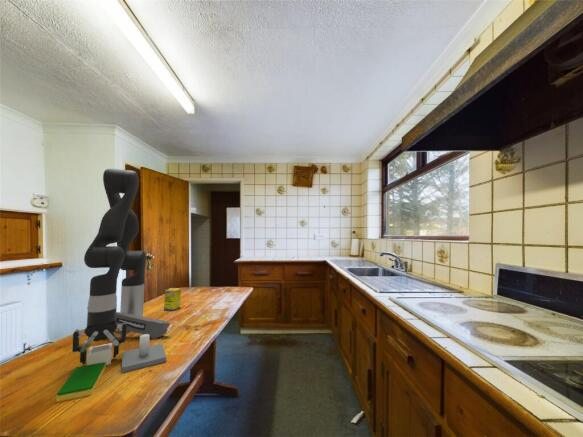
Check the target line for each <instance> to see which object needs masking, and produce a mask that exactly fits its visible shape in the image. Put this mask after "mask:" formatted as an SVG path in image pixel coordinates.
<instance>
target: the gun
mask: <svg viewBox="0 0 583 437" xmlns="http://www.w3.org/2000/svg"><path fill="white" fill-rule="evenodd" d="M123 322H126V323H127V328H126V335H127V334H129V333H130V332H132V333H136V334H141V335H144V334H149V335H150V336H149V338H151V339H158V338H161V337H162V336H164V335H166V334H167V332H168V328H169V327H170V325H171V323H170V322H169V321H168V320H164V319H160V318H150V317H145V316H143V317H141V316H136V315H131V314H127V313H120V311H116V323H117V324H122V323H123ZM113 333H114V334H115V335H119V336H121V337H122V331H120V330H119V328H117V330H115V331H114V332H113Z"/></svg>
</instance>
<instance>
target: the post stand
mask: <svg viewBox="0 0 583 437" xmlns="http://www.w3.org/2000/svg"><path fill="white" fill-rule="evenodd" d="M149 336H150V335H149V334H144V335H143V334H141V335H140V336H139V345H138V346H139V347H138V348H135V349H130V350H129V349H128V350H124V351H122V355H121V373H122V374H123V373H126V372H127V373H128V372H131V371H135V370H137V369H138V370H139V369H143V368H147V367H151V366H155V365H158V364H162V363H166V362H167V355H166V352H165V347H164V344H163V343H158V344H154V345H150V337H149Z"/></svg>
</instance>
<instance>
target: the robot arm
mask: <svg viewBox="0 0 583 437" xmlns="http://www.w3.org/2000/svg"><path fill="white" fill-rule="evenodd" d="M102 174H103V175H102V181H103V188H104V191H105V194H106V196H107V197H106V198H107V201H108V204H109V209H108V210H107V211H106V212H105V213H104V215H103V216H102V218H101V220H100V224H99V228H98V232H97V234H96V235H95V237H94V239H93V241H92V242H91V244H90V245H89V247H88V248H87V249H86V251H85V253H84V257H83V261H84V264H85V266H86V267H88V268H90V269H104V268H106V269H107V268H109V269H108V270H107V272H106V273H104V274H98V275H94V276H92V277H91V279H90V282H89V298H88V301H87V302H88V303H87V306H86V307H87V316H86V319H87V320H86V327H85V328H83V329H75V330H74V332H73V334H72V349H71V350H72V352H73V353H76V352H78V353H80V354H79V363H80V364H82V365H85V364H86V365H87V354H88V347H89V346H90V345H91V344H92V342H95V343H96V342H100V341H106V340H107V339H109V341H110V342H111V343H112V345H113V353H112V356H113V357H112V358H116V357H117V356H118V355H119V353H120V345H121V344H123V343H125V342H126V340H127V334H126V328H127V323H126V322H123V323H122V324H117V323H116V313H117V306H118V296H117V289H118V288H117V287H118V286H117V284H118V277H119V274H120V270H121V271H136V272H135V273H134V274H133V275H131V276H128V277H125V278H123V279H122V280H121V288H120V308H119V310H120V311H119V312H120V313H127V314H131V315H136V316H141V317H144V300H145V277H146V276H145V275H146V266H147V253H146V252H145V251H144V250H129V249H128V247H129V246H130V244H131V243H132V242H133V240H135V238H136V237H137V235H138V233H139V232H140V225H139V219H138V218H139V217H138V215H137V213H135V211H134V210H133V209H131V208H132V206H133V203H134V201H135V198H136V195H137V193H138V190H139V186H140V178H139V175H138V172H136V171H135V170H130V169H129V170H128V169H119V168H107V169H105V170H104V172H103V173H102ZM120 194H123V195H122V197H121V195H120ZM115 243H116V246H115V245H113V246H112V245H111V244H115ZM108 245H109V246H108ZM110 245H111V246H110ZM118 328H119V330H120V331H122V336H121V337H120V338H118V336H117V334H115V333H113V332H114V331H117V330H118ZM84 334H85V336H87V337H88V338H87V339H86V341H85V342H84V343H83V345H80V338H81V337H82V336H83V335H84Z"/></svg>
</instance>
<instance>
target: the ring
mask: <svg viewBox="0 0 583 437" xmlns="http://www.w3.org/2000/svg"><path fill="white" fill-rule="evenodd" d="M112 356H113V342H111V343H110V342H109V343H106V344H105V343H104V344H100V345H95V346H90V347H89V348H88V350H87V356H86V365H92V364H98V363H104V362H105V363H106V364H105V365H106V366H107V365H111V364H112V358H113V357H112Z"/></svg>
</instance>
